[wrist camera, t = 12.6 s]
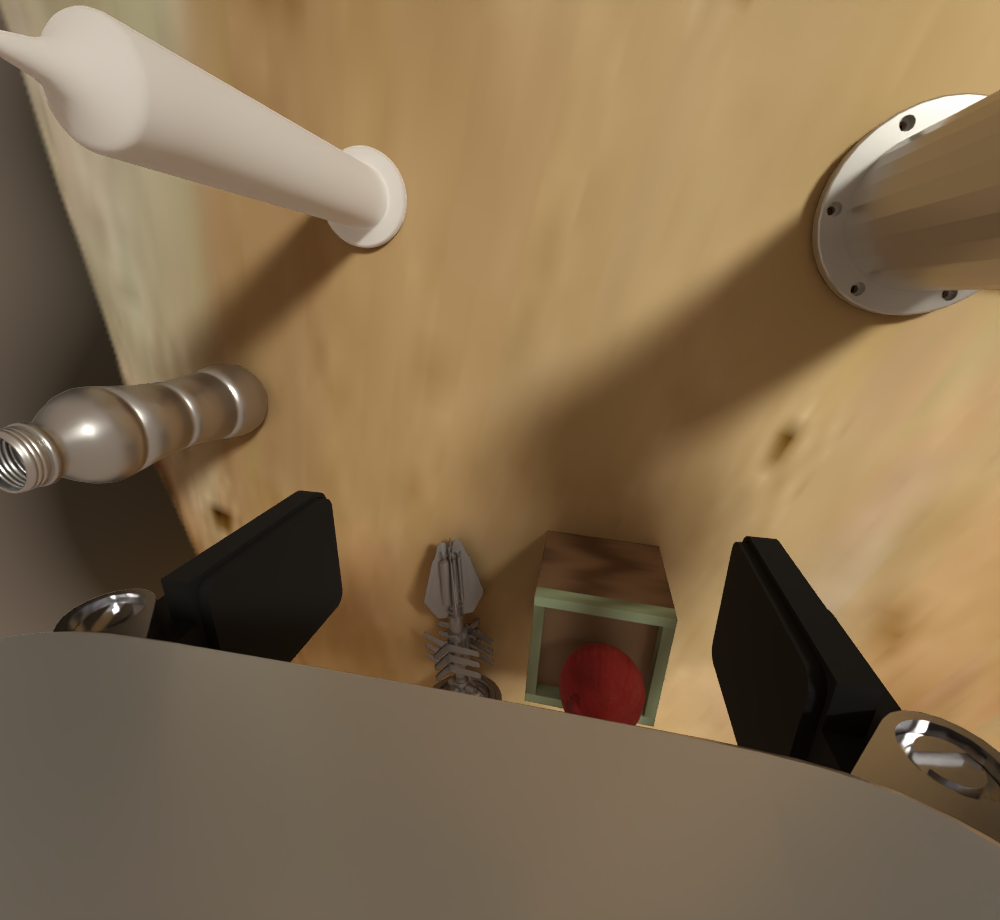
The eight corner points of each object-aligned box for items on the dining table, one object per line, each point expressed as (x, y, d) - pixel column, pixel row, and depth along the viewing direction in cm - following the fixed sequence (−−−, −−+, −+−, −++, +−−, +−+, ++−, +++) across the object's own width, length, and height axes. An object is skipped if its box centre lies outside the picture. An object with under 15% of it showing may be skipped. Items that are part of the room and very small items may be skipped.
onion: (588, 690, 37) (587, 788, 30) (547, 637, 36) (535, 724, 29) (654, 664, 35) (670, 761, 28) (612, 607, 34) (617, 692, 27)
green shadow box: (658, 546, 42) (677, 619, 32) (639, 643, 45) (651, 734, 36) (547, 531, 43) (534, 596, 34) (538, 625, 47) (523, 708, 38)
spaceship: (423, 853, 50) (483, 896, 46) (388, 548, 42) (455, 566, 38) (468, 794, 56) (524, 828, 52) (444, 521, 49) (507, 533, 44)
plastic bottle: (229, 431, 47) (-14, 519, 28) (208, 363, 44) (-69, 409, 26) (285, 427, 45) (69, 517, 27) (266, 356, 43) (18, 400, 24)
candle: (383, 265, 38) (60, 216, 15) (311, 217, 38) (-127, 92, 15) (423, 180, 36) (104, -36, 13) (346, 128, 36) (-123, -191, 12)
